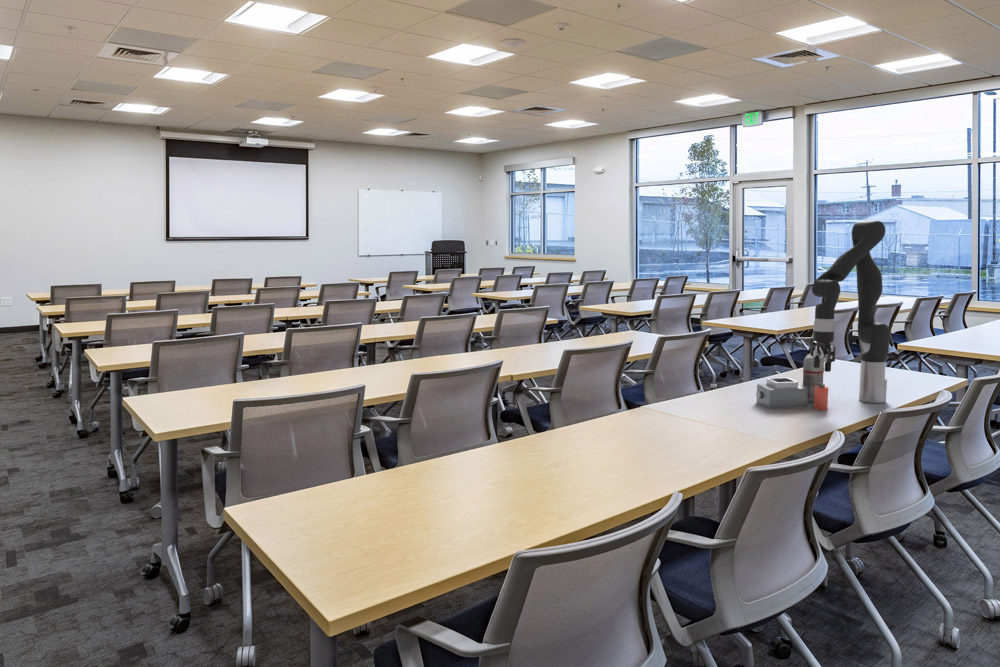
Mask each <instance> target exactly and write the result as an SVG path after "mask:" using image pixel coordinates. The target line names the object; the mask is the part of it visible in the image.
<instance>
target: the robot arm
mask: <svg viewBox="0 0 1000 667" xmlns="http://www.w3.org/2000/svg"><path fill="white" fill-rule="evenodd" d="M885 234H886V226H885V224H884V223H883V222H882V221H880V220H859V221H856V222H855V223H854V224H853V226H852V228H851V241H852V245H853V247H851V248H850V249H848V250H846V251H845V252H844V253H842V254H840V256H838V257H837V258H836V260H835V261H834V262H833V264H832V265H831V266H830V267H829V269H827V270H826V271H825V272H823V273H822V274H821V275H819V276H818V277H817V278H816V279H815V280H814V282H813V283H812V286H811V293H812V294H813V296H815V297H820V298H824V300H823V302H820V303H817V304H816V305H815V308H814V322H813V334H812V335H813V336H812V337H813V338H812V339H813V340H812V342H811V345H810V347H811V348H810V354H811V356H813V358H814V368H819V367H820V359H819V358H820V356H821V355H822V357H823V358H824V360H825V362H824V372H826V373H827V372H828V373H830V372H831V371H832V363H834V362H836V346H835V345H833V346H832V345H831V343H833V342H834V340H835V324H836V323H835V309H836V307H837V303H838V300H839V297H840V294H841V285H840V283H841V282H843V281H844V280H846V279H847V277H848V276H849V275H850V273H851V272H852V271H853V269H854V267H856V270H855V271H856V289H857V302H858V304H857V306H858V315H857V316H858V317H857V318H858V319H857V336H858V339H859V340H860V341H861V342H862V343H865V344H870V346H869V349H868V351H864V352H862V353H861V354H860V369H859V372H860V374H859V388H858V389H859V390H858V391H859V392H858V400H859V402H863V403H870V404H880V403H884V402H885V403H886V402H887V388H888V387H887V386H888V379H887V378H886V364H887V357H888V354H889V349H890V340H891V331H890V328H889V326H888V325H887V324H886V323H883V322H876V321H875V309H876V308H875V307H876V306H877V304H878V301H879V300H880V298H881V296H882V292H883V275H882V272H881V270H880V268H879V267H878V265H877V264H876V263H875V260H874V259H873V257H872V255H871V251H872V250H873V249H874V248H875V247H876V246H877V245H878V244H880V243H881V241H882V240H883V238H884V237H885Z"/></svg>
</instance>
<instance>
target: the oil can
mask: <svg viewBox="0 0 1000 667" xmlns="http://www.w3.org/2000/svg"><path fill="white" fill-rule="evenodd" d="M815 385H818V386H815V391H814V402H813V410H816V411H821V412H822V411H827V410H828V402H829V400H828V399H829V386H826V384H825V383H824V382H823V383H822V382H819V383H815Z"/></svg>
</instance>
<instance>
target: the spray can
mask: <svg viewBox="0 0 1000 667" xmlns="http://www.w3.org/2000/svg"><path fill="white" fill-rule="evenodd" d="M819 359H820V367H819V368H814V358H813V356H811V353H808V354H806V356H805V357H804V359H803V364H802V368H803V369H802V370H803V371H802V373H803V374H802V375H803V376H802V386H804V387H806V388H808V402H809V403H814V391H815V386H818V385H815V383H819V382H822V383H823V384H824V372H825V360H824V358H823V357H822V355H821V356H820V358H819ZM808 402H807V403H808Z"/></svg>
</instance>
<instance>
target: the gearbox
mask: <svg viewBox="0 0 1000 667" xmlns="http://www.w3.org/2000/svg"><path fill="white" fill-rule="evenodd" d="M755 394H756V395H755V397H756V403H757V404H759V405H761V406H762V407H764V408H766V409H768V410H781V409H782V410H783V409H804V408H805V409H806V408H808V388H806V387H804V386H803V385H801V384H799V381H797V380H795V379H792V378H790V377H772V378H771V377H769V378H766V382H765V383H756V393H755Z"/></svg>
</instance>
